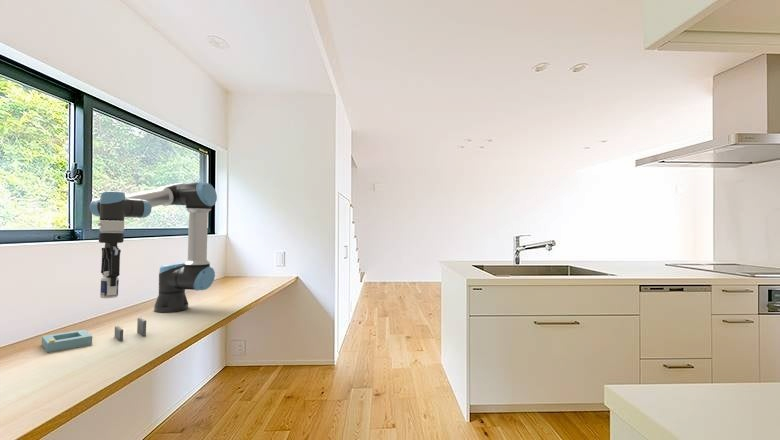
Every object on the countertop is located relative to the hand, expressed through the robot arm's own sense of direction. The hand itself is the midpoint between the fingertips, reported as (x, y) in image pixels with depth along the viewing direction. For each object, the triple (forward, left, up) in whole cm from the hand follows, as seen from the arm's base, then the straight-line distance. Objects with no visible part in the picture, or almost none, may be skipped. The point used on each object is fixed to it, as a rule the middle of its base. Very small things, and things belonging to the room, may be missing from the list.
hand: (109, 293), depth 141 cm
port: (+11, -3, -17) cm, 21 cm away
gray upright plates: (-7, +2, -17) cm, 19 cm away
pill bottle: (0, 0, -2) cm, 2 cm away
